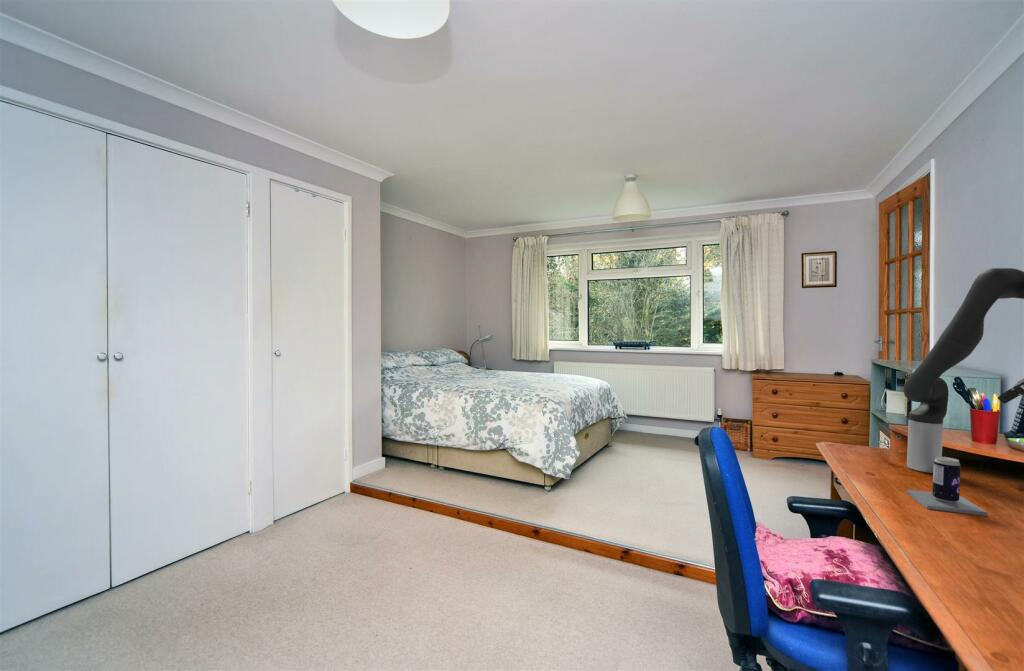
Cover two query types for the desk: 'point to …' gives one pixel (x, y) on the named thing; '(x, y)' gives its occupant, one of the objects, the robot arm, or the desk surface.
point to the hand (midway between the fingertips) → (1002, 399)
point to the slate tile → (935, 504)
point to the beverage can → (946, 479)
